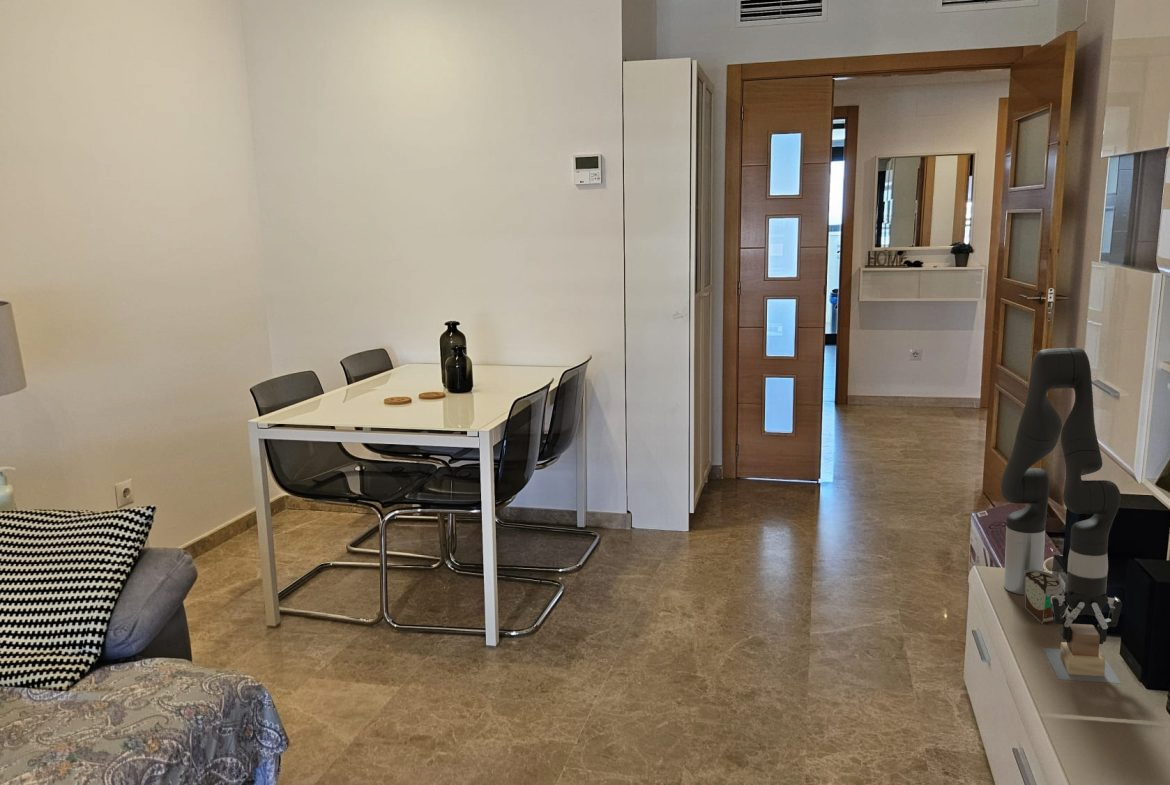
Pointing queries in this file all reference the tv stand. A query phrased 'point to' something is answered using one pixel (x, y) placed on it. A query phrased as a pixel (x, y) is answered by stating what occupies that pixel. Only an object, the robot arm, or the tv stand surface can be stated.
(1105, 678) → the build board
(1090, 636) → the walnut cube
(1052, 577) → the food container
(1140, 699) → the tv stand surface
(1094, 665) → the oak base block
